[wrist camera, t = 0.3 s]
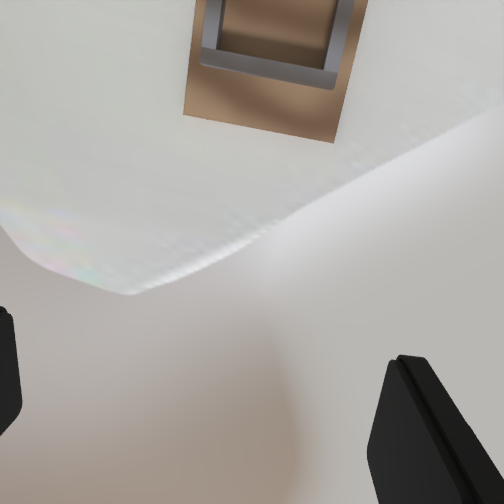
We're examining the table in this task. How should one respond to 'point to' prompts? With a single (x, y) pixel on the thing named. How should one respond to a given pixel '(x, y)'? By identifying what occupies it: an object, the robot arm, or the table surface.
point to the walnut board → (273, 63)
